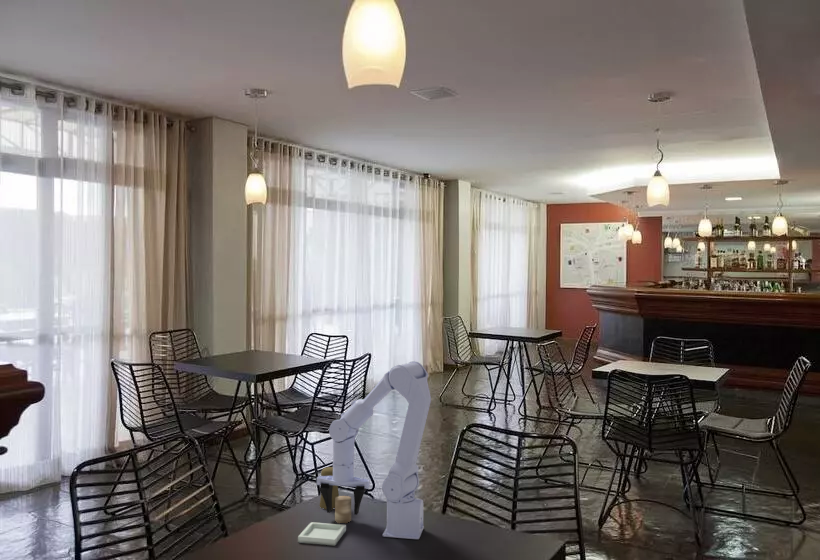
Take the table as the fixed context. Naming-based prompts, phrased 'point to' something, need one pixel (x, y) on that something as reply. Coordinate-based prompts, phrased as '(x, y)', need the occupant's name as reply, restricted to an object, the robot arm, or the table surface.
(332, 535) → the sage tray
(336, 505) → the beech cylinder
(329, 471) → the olive tapered cylinder
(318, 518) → the table surface
